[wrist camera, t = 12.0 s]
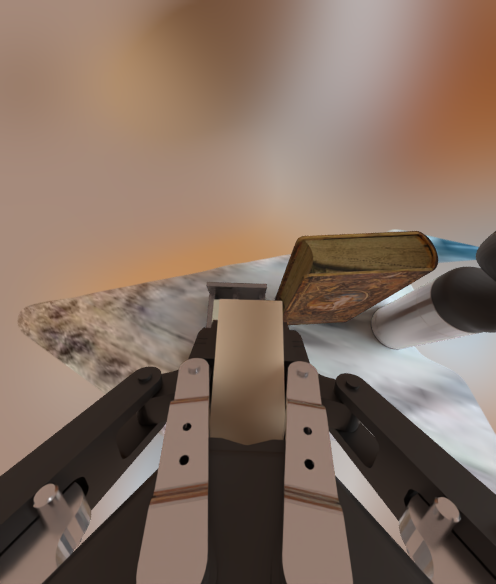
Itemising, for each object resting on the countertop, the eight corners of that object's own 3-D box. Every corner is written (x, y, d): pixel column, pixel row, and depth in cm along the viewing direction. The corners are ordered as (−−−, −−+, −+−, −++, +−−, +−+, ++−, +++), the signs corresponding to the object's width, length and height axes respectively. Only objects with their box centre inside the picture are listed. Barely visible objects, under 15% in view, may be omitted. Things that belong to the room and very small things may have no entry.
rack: (263, 297, 52) (266, 284, 44) (263, 404, 44) (266, 409, 37) (212, 296, 52) (206, 282, 44) (202, 402, 44) (194, 407, 37)
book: (346, 297, 52) (428, 230, 29) (351, 321, 50) (444, 270, 27) (273, 301, 52) (297, 236, 28) (276, 325, 50) (303, 276, 26)
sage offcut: (230, 313, 51) (227, 299, 42) (228, 345, 48) (225, 338, 40) (219, 313, 51) (214, 299, 42) (216, 345, 48) (210, 338, 40)
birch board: (258, 353, 32) (282, 300, 11) (258, 401, 29) (285, 448, 9) (237, 352, 32) (219, 298, 11) (234, 400, 29) (208, 445, 9)
